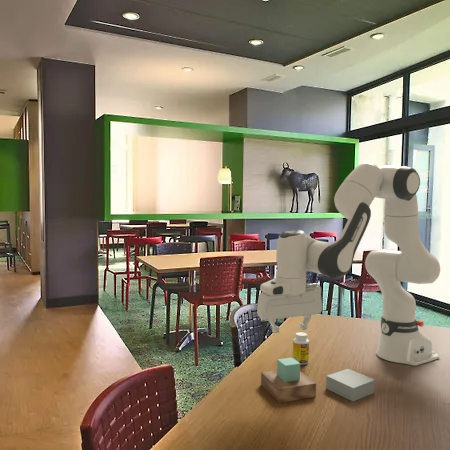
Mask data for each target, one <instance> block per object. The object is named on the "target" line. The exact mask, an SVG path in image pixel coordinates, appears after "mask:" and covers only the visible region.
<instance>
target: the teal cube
mask: <svg viewBox="0 0 450 450" xmlns="http://www.w3.org/2000/svg"><path fill="white" fill-rule="evenodd" d="M276 364H277V366H276V370H277V376H278V377H279V378H281V379H282V380H283V381H284V382H289V381H296V380H300V371H301V365H300V363H299V362H298V361H296V360H295V359H293V356H292V357H285V358H277V361H276Z"/></svg>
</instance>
